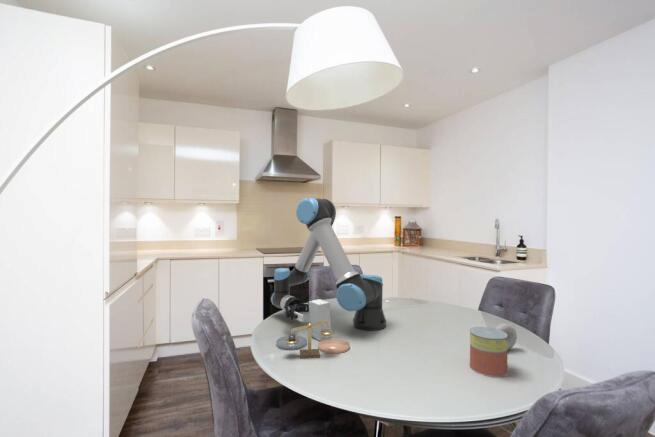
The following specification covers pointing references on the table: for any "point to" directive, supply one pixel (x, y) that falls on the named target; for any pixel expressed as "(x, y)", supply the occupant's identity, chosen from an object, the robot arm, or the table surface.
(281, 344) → the slate dish
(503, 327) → the donut
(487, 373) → the canned food
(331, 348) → the terracotta dish
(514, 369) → the table surface
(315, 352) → the balance
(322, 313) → the skincare box
